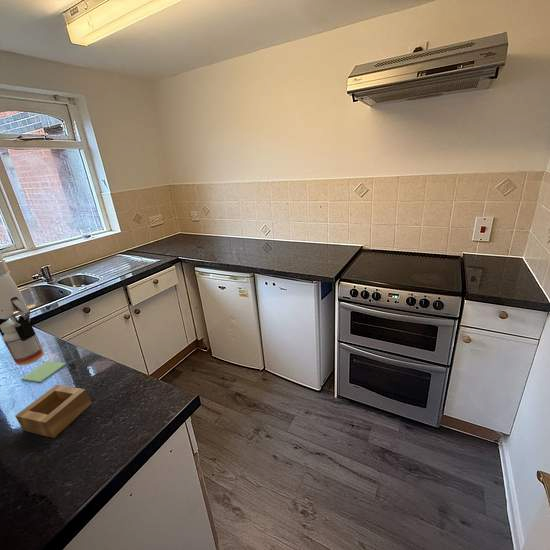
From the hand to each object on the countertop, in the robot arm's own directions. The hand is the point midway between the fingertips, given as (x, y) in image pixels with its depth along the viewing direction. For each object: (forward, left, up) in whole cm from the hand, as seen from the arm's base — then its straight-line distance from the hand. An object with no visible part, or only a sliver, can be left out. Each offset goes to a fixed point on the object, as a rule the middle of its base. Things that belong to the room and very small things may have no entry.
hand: (19, 336), depth 76 cm
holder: (+7, -4, -22) cm, 23 cm away
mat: (-18, +10, -22) cm, 30 cm away
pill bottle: (0, 0, -7) cm, 7 cm away
